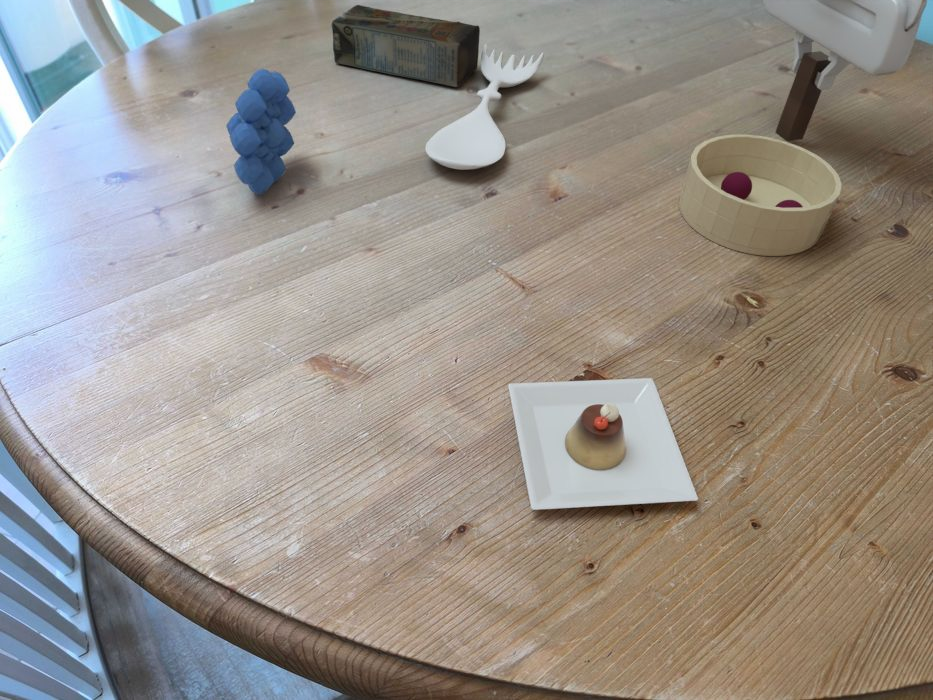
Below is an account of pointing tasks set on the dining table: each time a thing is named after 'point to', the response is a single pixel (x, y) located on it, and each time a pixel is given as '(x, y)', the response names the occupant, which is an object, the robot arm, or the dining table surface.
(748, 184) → the berry
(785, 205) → the berry
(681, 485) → the dessert
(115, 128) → the dining table surface
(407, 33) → the beverage carton
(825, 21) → the robot arm
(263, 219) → the dining table surface
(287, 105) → the grapes
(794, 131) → the stick
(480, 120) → the spoon
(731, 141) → the bowl
